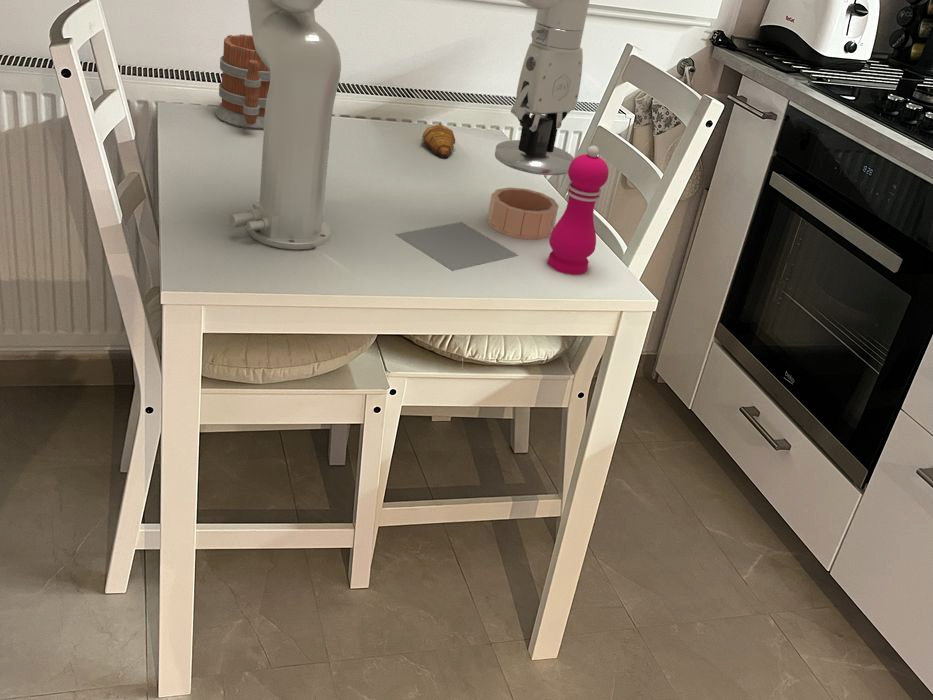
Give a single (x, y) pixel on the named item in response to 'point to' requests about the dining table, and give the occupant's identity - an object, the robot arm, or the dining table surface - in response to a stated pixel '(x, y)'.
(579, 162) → the pepper mill
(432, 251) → the mat
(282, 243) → the robot arm
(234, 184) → the dining table surface
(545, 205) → the bowl
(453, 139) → the croissant
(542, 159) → the lid
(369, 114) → the dining table surface
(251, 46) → the mug
